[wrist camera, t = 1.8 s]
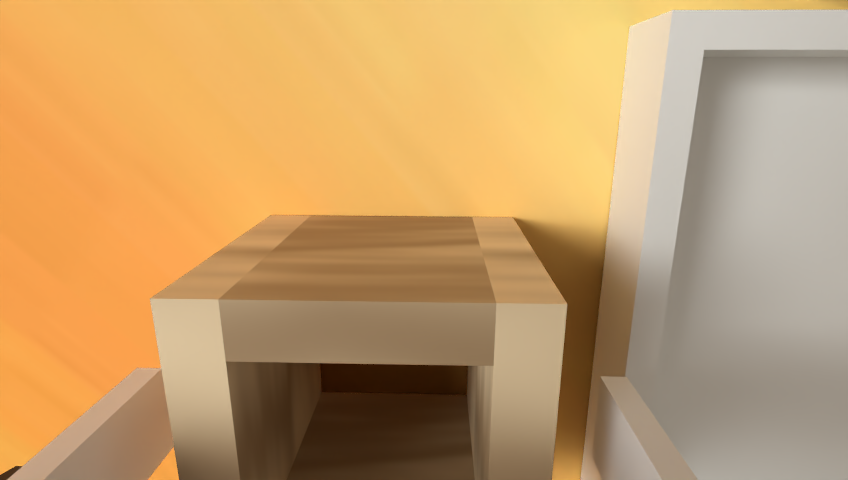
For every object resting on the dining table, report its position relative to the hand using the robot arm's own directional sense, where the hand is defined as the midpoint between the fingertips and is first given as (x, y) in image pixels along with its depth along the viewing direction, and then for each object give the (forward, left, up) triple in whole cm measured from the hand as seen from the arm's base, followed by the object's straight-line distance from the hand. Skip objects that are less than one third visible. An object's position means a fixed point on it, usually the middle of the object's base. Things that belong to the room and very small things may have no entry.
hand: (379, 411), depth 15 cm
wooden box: (0, 0, -5) cm, 5 cm away
